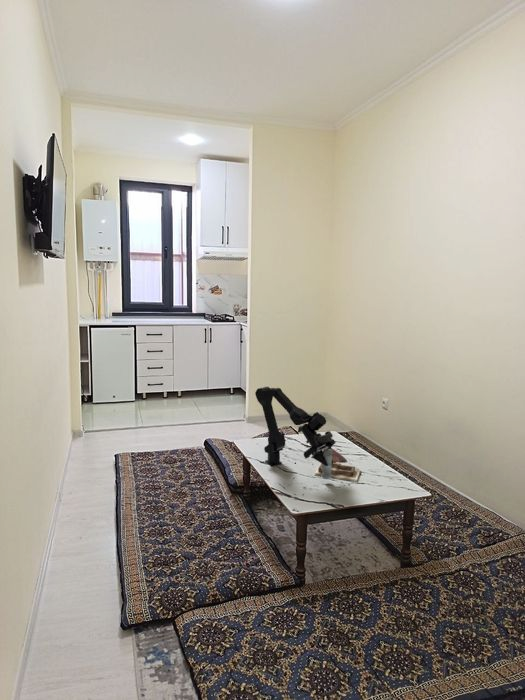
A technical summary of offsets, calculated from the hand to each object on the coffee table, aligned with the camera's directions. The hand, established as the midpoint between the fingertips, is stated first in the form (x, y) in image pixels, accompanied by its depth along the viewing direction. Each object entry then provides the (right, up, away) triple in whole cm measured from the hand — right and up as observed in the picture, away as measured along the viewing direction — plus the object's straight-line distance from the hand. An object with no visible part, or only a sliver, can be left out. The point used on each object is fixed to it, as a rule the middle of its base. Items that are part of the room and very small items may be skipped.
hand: (329, 464), depth 217 cm
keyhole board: (+6, -7, +13) cm, 16 cm away
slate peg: (-1, -6, +2) cm, 7 cm away
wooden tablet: (+5, -4, +39) cm, 39 cm away
